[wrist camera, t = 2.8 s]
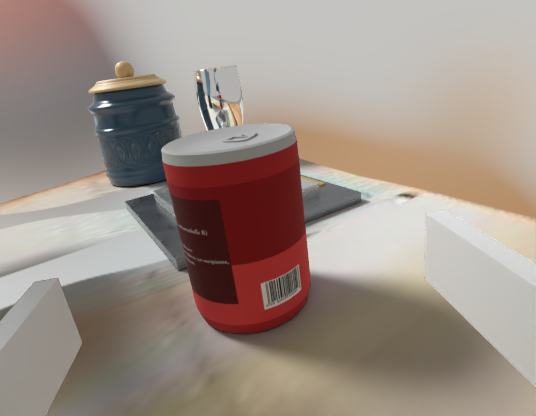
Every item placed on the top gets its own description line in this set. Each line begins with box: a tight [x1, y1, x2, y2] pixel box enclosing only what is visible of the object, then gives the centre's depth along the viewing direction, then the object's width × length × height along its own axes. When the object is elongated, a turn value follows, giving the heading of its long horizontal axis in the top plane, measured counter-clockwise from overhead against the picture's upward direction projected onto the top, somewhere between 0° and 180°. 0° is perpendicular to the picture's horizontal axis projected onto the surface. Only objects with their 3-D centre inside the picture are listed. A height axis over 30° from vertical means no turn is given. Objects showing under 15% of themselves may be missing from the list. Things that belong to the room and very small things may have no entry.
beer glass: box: [194, 65, 243, 131], centre depth 59 cm, size 7×7×15 cm
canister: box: [87, 61, 182, 186], centre depth 59 cm, size 13×13×18 cm
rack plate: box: [125, 175, 361, 271], centre depth 42 cm, size 20×20×2 cm
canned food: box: [161, 123, 311, 334], centre depth 23 cm, size 8×8×11 cm
